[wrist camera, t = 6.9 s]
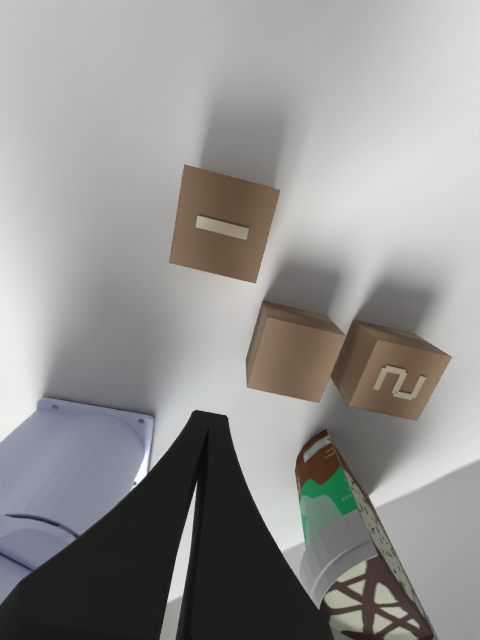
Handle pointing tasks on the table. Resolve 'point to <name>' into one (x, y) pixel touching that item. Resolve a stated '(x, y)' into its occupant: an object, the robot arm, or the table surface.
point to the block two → (387, 370)
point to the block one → (222, 224)
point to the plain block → (292, 352)
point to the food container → (351, 554)
